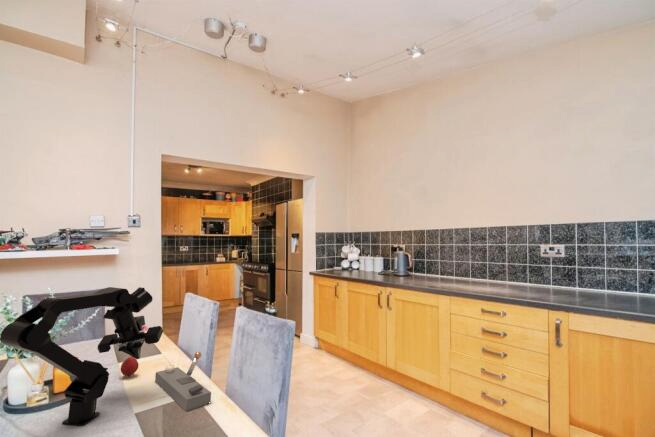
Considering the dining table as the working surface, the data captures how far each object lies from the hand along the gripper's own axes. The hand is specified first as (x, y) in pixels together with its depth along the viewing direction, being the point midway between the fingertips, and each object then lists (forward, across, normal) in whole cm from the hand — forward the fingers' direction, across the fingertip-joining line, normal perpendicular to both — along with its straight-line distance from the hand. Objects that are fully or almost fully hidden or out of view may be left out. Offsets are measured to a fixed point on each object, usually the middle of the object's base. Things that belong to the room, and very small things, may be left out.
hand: (138, 358), depth 113 cm
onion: (+15, +10, -8) cm, 20 cm away
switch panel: (+13, -12, +6) cm, 19 cm away
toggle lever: (+9, -15, +2) cm, 18 cm away
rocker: (+8, -20, +13) cm, 25 cm away
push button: (+13, -6, -5) cm, 15 cm away
